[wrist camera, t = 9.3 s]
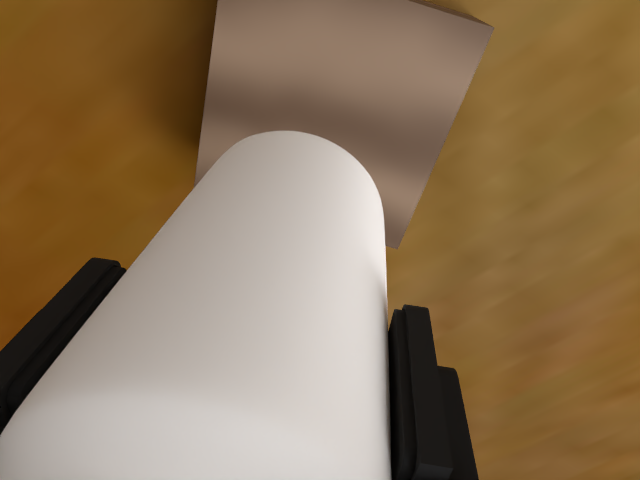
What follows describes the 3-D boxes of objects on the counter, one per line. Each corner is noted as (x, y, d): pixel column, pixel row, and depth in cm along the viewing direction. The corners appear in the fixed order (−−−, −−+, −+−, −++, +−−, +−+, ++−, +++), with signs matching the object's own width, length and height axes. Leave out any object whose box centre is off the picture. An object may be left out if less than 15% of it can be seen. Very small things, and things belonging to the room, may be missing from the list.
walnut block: (253, -54, 27) (225, -58, 22) (472, 16, 28) (494, 27, 23) (220, 157, 35) (193, 190, 29) (394, 208, 35) (397, 249, 30)
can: (303, 83, 14) (92, 432, 4) (420, 232, 16) (497, 705, 6) (168, 196, 16) (-176, 585, 6) (285, 310, 19) (176, 732, 8)
